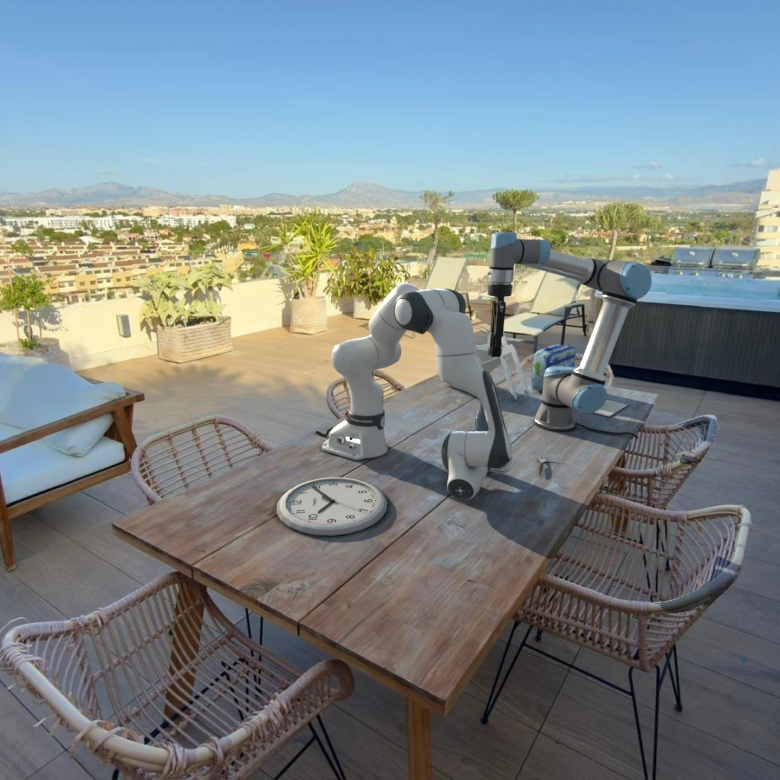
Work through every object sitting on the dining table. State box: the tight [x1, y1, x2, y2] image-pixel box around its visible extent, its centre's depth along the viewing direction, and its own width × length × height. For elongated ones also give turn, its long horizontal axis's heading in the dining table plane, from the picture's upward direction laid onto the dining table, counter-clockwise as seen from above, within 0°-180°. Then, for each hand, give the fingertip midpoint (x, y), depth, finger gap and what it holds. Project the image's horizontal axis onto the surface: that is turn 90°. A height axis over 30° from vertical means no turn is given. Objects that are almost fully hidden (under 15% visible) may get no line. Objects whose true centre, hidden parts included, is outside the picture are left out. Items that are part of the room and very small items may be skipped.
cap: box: [488, 347, 503, 356], centre depth 172 cm, size 4×4×2 cm
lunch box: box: [530, 344, 577, 392], centre depth 247 cm, size 26×11×21 cm, turn 134°
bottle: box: [474, 400, 490, 473], centre depth 162 cm, size 6×6×23 cm
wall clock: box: [276, 476, 388, 537], centre depth 142 cm, size 30×2×30 cm
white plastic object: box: [440, 330, 531, 400], centre depth 245 cm, size 37×45×31 cm
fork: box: [538, 451, 548, 475], centre depth 168 cm, size 3×16×2 cm, turn 160°
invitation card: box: [593, 399, 629, 418], centre depth 226 cm, size 21×1×15 cm
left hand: (482, 448), depth 164 cm, fingers closed on bottle, 5 cm apart
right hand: (494, 354), depth 172 cm, fingers closed on cap, 4 cm apart
